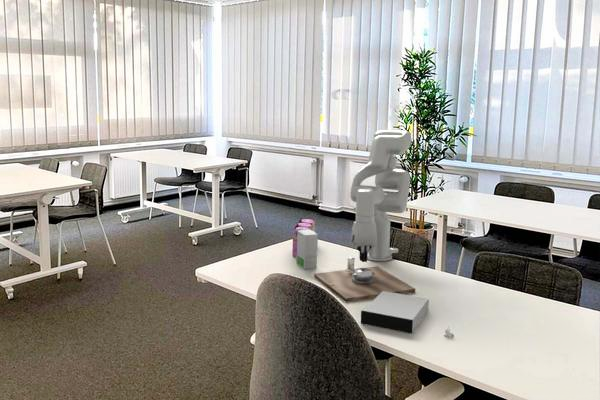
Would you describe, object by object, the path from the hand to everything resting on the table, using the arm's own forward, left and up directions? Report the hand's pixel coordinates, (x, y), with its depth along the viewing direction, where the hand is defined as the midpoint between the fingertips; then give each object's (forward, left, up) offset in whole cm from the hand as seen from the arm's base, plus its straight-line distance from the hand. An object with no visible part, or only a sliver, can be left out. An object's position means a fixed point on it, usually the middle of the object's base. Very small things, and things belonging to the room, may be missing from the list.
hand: (363, 261), depth 242 cm
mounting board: (+6, +11, -6) cm, 14 cm away
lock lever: (+6, +6, -3) cm, 9 cm away
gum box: (+10, -42, -6) cm, 43 cm away
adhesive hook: (+2, +64, -7) cm, 65 cm away
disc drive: (+10, +44, -7) cm, 45 cm away
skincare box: (+18, -19, -6) cm, 27 cm away
